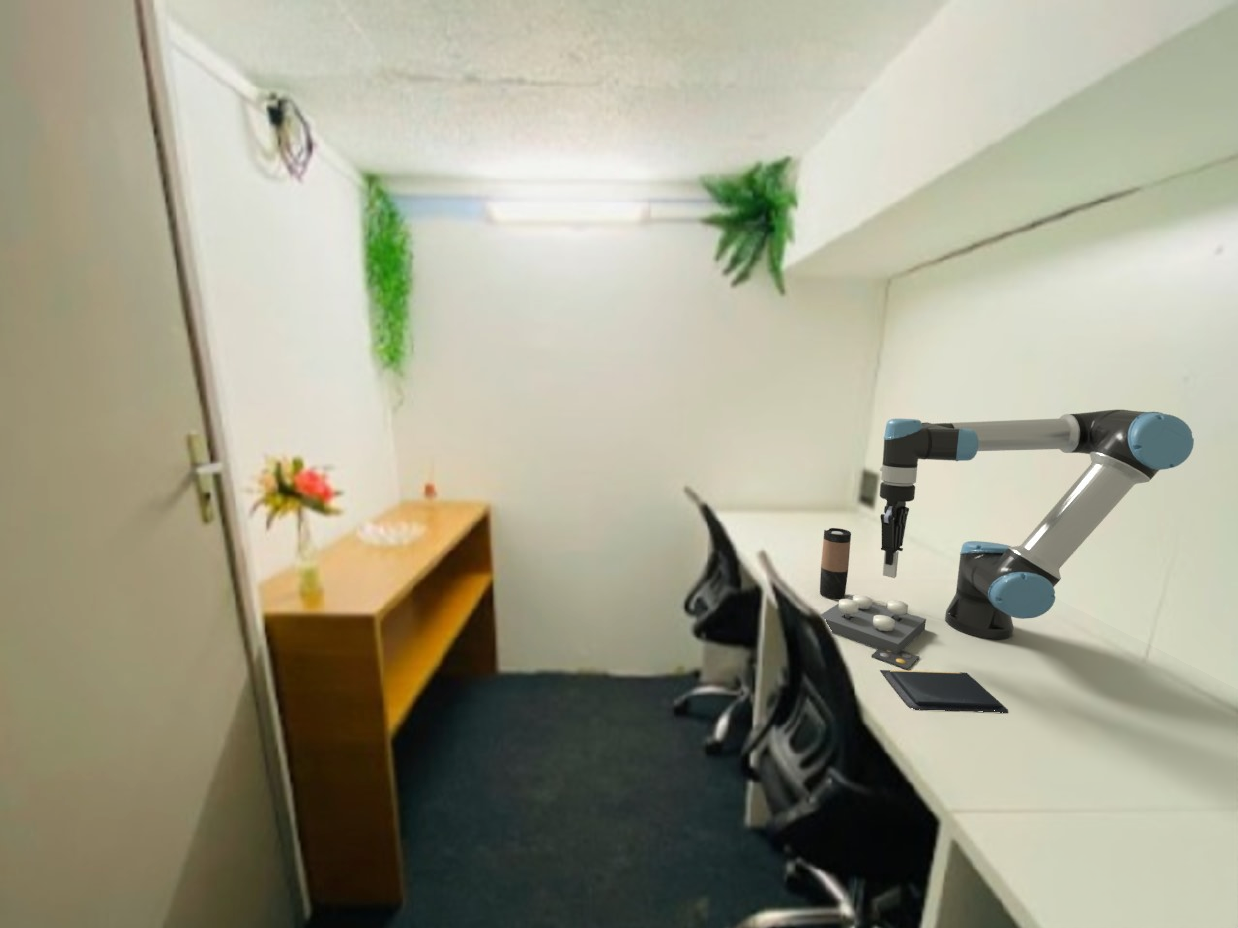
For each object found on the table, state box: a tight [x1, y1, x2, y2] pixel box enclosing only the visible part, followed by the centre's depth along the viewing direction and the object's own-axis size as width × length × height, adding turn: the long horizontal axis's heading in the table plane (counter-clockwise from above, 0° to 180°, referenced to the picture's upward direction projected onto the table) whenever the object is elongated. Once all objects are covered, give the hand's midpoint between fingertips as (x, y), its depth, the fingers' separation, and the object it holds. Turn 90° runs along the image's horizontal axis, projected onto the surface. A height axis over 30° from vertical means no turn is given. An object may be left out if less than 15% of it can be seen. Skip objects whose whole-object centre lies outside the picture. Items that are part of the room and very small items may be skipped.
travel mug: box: [819, 527, 852, 601], centre depth 163 cm, size 8×8×20 cm
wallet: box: [879, 669, 1009, 714], centre depth 115 cm, size 20×2×15 cm
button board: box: [820, 595, 927, 654], centre depth 143 cm, size 20×20×3 cm
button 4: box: [838, 598, 859, 620], centre depth 142 cm, size 5×5×5 cm
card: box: [871, 648, 920, 671], centre depth 128 cm, size 8×8×1 cm
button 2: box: [873, 615, 895, 632], centre depth 136 cm, size 5×5×5 cm
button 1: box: [886, 599, 909, 621], centre depth 142 cm, size 5×5×5 cm
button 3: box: [852, 594, 873, 610], centre depth 149 cm, size 5×5×5 cm
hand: (889, 575), depth 134 cm, fingers closed
